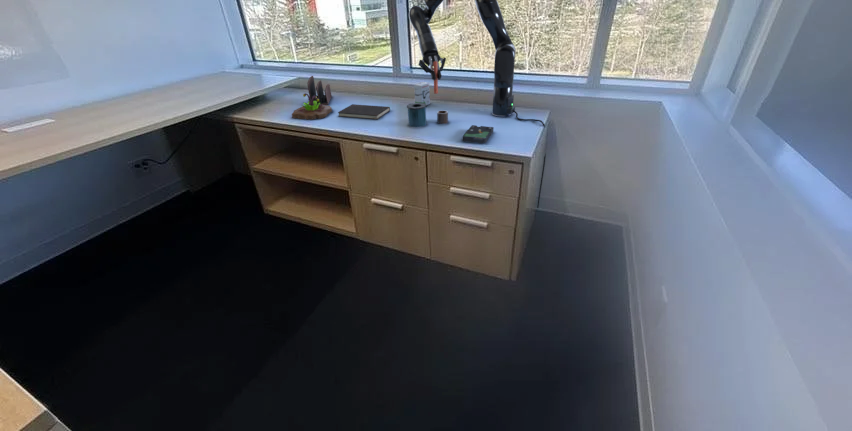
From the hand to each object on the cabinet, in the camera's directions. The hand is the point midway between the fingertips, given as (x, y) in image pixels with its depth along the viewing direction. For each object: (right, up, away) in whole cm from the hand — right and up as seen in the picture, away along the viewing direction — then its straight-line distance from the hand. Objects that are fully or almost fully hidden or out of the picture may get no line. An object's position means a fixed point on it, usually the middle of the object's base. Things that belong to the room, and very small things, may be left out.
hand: (437, 78), depth 172 cm
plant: (-67, -7, +35) cm, 76 cm away
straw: (0, -5, +5) cm, 7 cm away
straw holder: (+3, -17, +13) cm, 22 cm away
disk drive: (+18, -28, -5) cm, 33 cm away
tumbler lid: (-10, -10, +7) cm, 16 cm away
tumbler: (-9, -18, +12) cm, 24 cm away
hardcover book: (-38, -7, +32) cm, 50 cm away
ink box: (-7, 0, +41) cm, 42 cm away
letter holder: (-68, +7, +56) cm, 89 cm away
